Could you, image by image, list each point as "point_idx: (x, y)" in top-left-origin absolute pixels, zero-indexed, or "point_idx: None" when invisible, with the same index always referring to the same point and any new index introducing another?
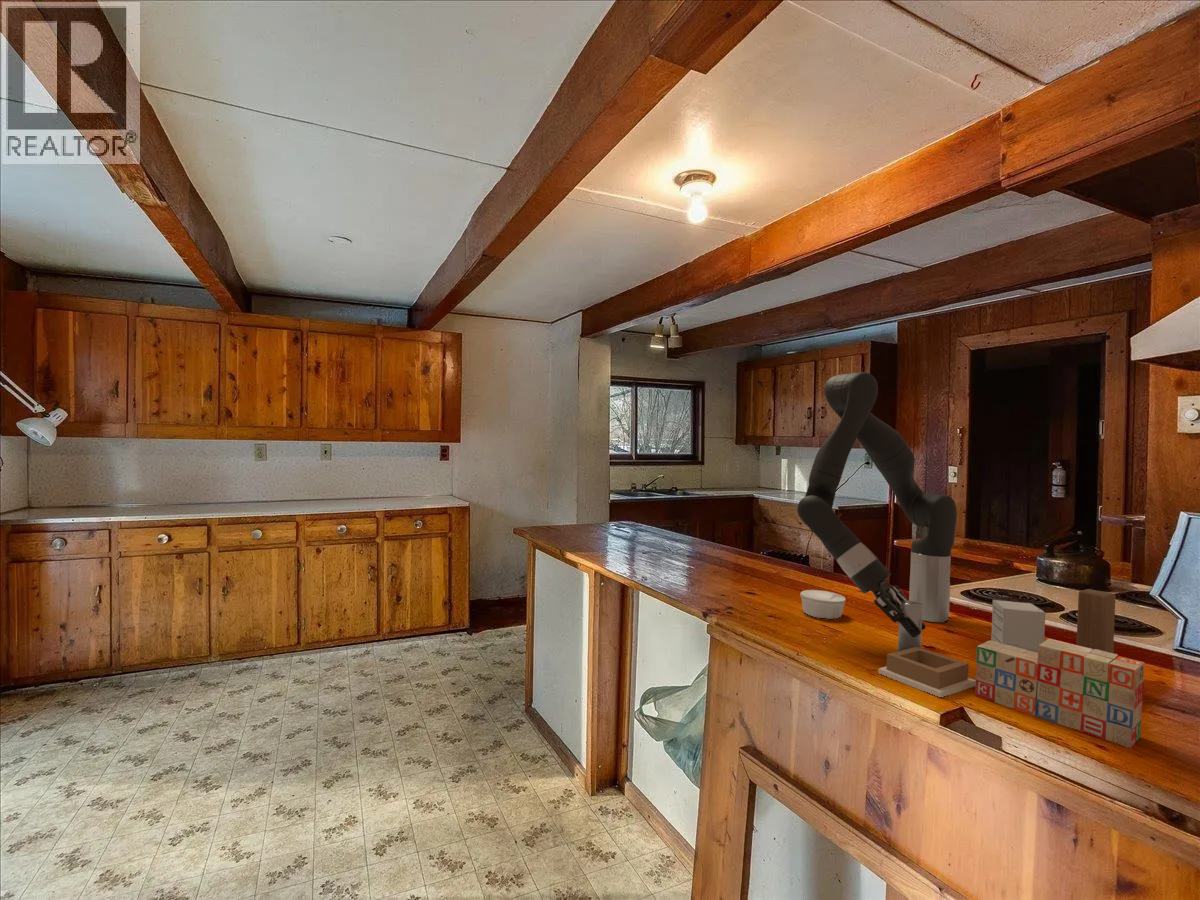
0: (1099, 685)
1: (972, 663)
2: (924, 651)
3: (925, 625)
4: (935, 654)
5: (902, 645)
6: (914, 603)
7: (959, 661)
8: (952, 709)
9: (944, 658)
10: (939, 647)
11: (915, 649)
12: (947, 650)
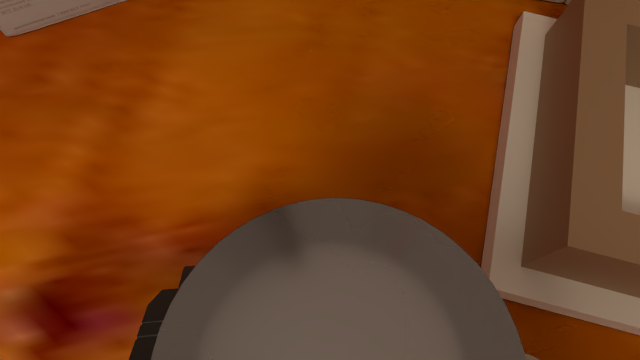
0: None
1: (202, 82)
2: (617, 181)
3: (185, 268)
4: (607, 122)
5: None
6: (302, 331)
7: (593, 15)
8: None
9: (624, 74)
10: (17, 266)
11: (635, 233)
12: (51, 216)
